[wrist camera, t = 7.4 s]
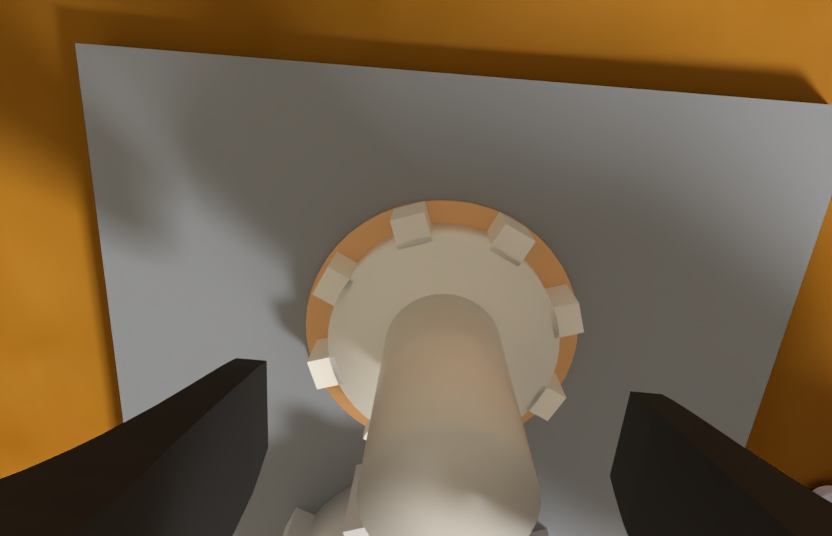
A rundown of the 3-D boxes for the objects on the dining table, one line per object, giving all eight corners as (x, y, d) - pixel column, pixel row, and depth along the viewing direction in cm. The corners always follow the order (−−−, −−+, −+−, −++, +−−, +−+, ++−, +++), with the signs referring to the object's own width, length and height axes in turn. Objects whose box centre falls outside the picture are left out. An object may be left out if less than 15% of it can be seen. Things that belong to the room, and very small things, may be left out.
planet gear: (593, 224, 13) (728, 342, 7) (537, 444, 15) (603, 674, 9) (329, 187, 13) (241, 274, 7) (310, 413, 15) (231, 626, 9)
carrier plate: (831, 105, 13) (1026, 115, 9) (648, 667, 19) (707, 829, 15) (101, 45, 13) (-62, 27, 9) (166, 625, 20) (92, 775, 15)
